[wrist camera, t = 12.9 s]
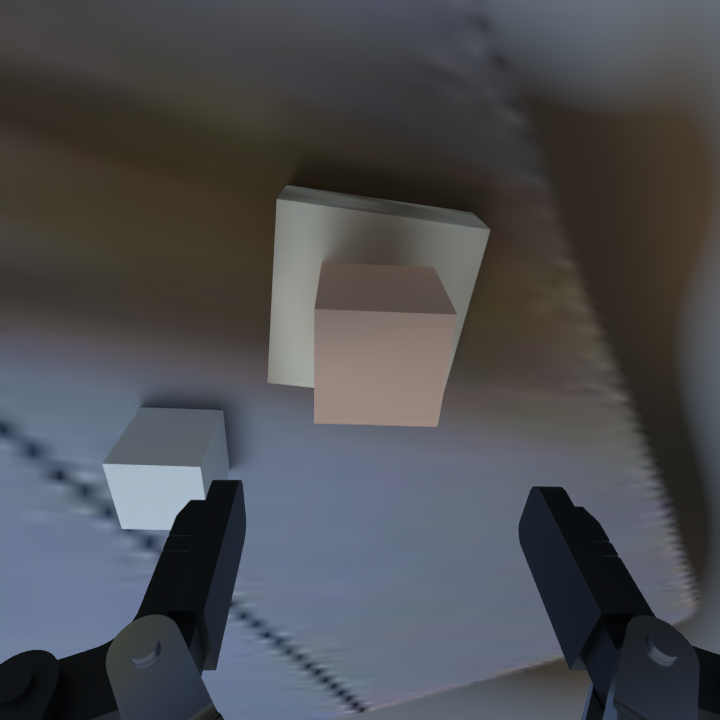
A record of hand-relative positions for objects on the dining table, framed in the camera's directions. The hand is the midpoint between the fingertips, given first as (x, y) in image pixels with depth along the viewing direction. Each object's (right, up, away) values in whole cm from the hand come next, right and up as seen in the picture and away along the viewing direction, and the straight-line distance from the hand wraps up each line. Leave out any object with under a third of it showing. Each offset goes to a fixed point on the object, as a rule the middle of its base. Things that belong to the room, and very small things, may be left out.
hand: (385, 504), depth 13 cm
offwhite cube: (-13, -2, +19) cm, 23 cm away
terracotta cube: (0, +6, +11) cm, 13 cm away
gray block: (0, +8, +14) cm, 17 cm away
